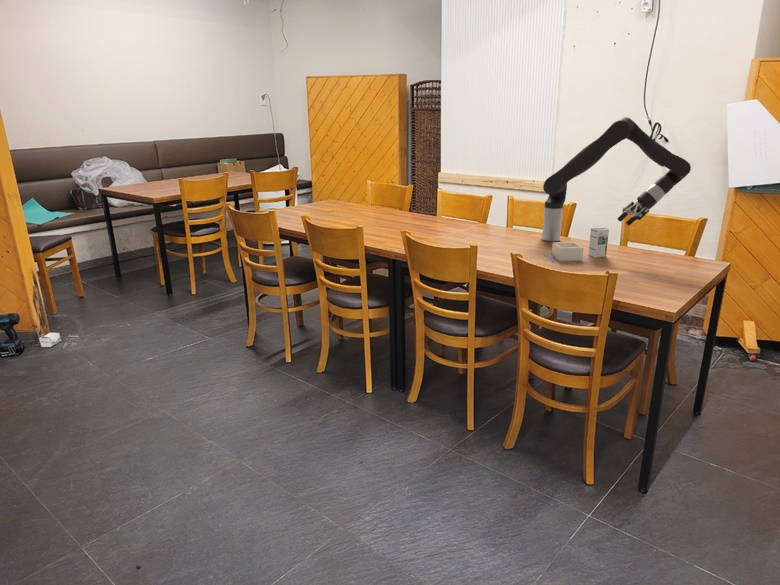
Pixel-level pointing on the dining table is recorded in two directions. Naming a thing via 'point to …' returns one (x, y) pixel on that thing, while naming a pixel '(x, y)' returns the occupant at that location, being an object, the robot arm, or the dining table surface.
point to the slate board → (564, 261)
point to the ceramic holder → (567, 251)
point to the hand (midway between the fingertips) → (622, 222)
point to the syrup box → (598, 242)
